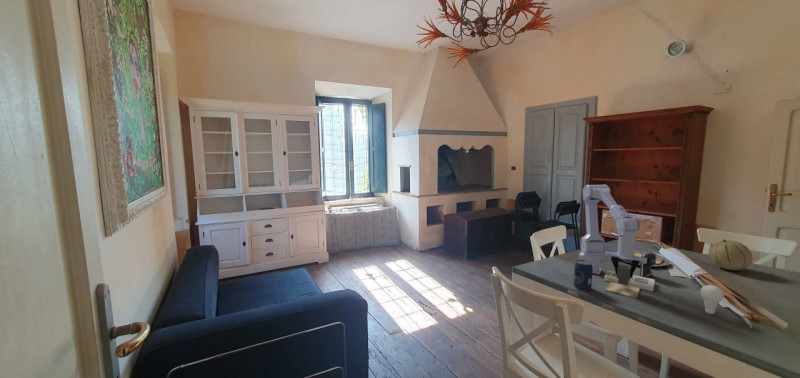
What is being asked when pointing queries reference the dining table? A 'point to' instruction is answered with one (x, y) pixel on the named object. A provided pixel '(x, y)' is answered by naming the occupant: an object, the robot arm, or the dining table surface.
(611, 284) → the pad
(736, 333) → the dining table surface
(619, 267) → the block
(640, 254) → the food plate
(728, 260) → the cantaloupe
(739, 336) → the dining table surface
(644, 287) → the white slotted block
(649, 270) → the battery charger
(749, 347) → the dining table surface
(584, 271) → the soda can
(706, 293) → the lightbulb
